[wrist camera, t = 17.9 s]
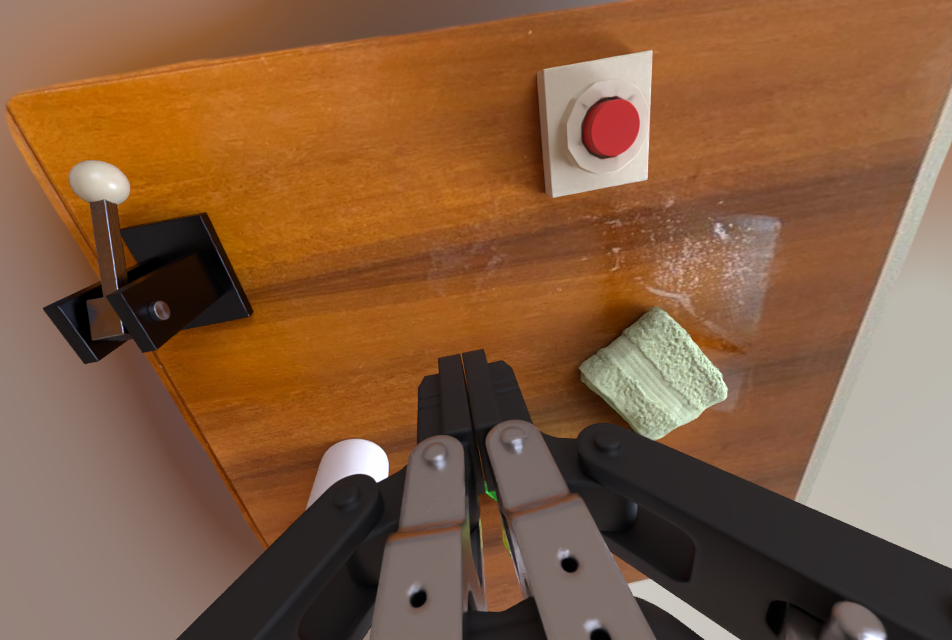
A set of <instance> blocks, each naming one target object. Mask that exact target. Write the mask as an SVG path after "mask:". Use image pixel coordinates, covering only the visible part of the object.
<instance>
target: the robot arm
mask: <svg viewBox="0 0 952 640" xmlns="http://www.w3.org/2000/svg"><path fill="white" fill-rule="evenodd" d="M462 357H463V363H464V369H465V374H464V370H463V365H462V360H461V356H460V354H456V355H451V356H446V357H441V358H438V366H439V374H434V375H429V376H425V377H424V379H423V380H422V382H421V384H420V385H419V387H418V418H417V446H416V447H415V448H414V449H413V450H412V452H411V453H410V455H409V459H408V464H407V465H406V466H405V467H404V468H403V469H401V470H400V471H398V472H397V473H395V474H393V475H391V476H389V477H387V478H385V479H383V480H381V481H379V482H376V480H375V479H374V478H373V477H371V476H369V475H366V474H353V475H349V476H346V477H344V478H342V479H340V480H338V481H337V482H335V483H334V484H332V485H331V486H330V487H329V488H328V489H327V490H326V491H325V492H324V493H323V494H322V495H321V496H320V497H319V498H318V499H317V500H316V501H315V502H314V503H313V504H312V505H311V506H310V507H309V508H308V509H307V510H306V511H305V512H304V513H303V514H302V515H301V516H300V517H299V518H298V519H297V520H296V521H295V522H294V523H293V524H292V525H291V526H290V527H289V528H288V529H287V530H286V531H285V532H284V533H283V534H282V535H281V536H280V537H279V538H278V539H277V540H276V541H275V542H274V543H273V544H272V545H271V546H270V547H269V548H268V549H267V550H266V551H265V552H264V553H263V554H262V555H261V556H260V557H259V558H258V559H257V560H256V561H255V562H254V563H253V564H252V565H251V566H250V567H249V568H248V569H247V570H246V571H245V572H244V573H243V574H242V575H241V576H240V577H239V578H238V579H237V580H236V581H235V582H234V583H233V584H232V585H231V586H230V587H229V588H228V589H227V590H226V591H225V592H224V593H223V594H222V595H221V596H220V597H218V599H216V600H215V602H213V604H211V605H210V606H209V607H208V608H207V609H206V610H205V611H204V613H202V614H201V615H200V616H199V617H198V618H197V619H196V620H195V621H194V622H193V623H192V624H191V625H190V626H189V627H188V628H187V629H186V630H185V631H184V632H183V633H182V634H181V635H180V636H179V637H178V638H177V639H176V640H363V638H364V637H365V635H366V634H367V632H368V630H369V629H370V628H371V633H370V639H369V640H704V639H703V638H702V637H700V636H699V635H698V634H696V633H695V632H694V631H692V630H691V629H690V628H688V627H687V626H686V625H684V624H683V623H682V622H680V621H679V620H678V619H676V618H675V617H674V616H672V615H671V614H669V613H668V612H666V611H664V610H663V609H661V608H659V607H658V606H656V605H654V604H652V603H650V602H647V601H645V600H643V599H641V598H638V597H635V596H633V594H632V592H631V590H630V588H629V586H628V585H627V583H626V581H625V579H624V577H623V575H622V573H621V571H620V569H619V567H618V565H617V564H616V562H615V560H614V558H613V556H612V554H611V552H612V553H613V554H615V555H616V556H618V557H619V558H621V559H622V560H624V561H625V562H626V563H628V564H629V565H631V566H632V567H634V568H635V569H637V570H638V571H640V572H641V573H643V574H644V575H646V576H647V577H649V578H650V579H652V580H653V581H655V582H656V583H658V584H659V585H661V586H662V587H663V588H665V589H666V590H668V591H669V592H671V593H672V594H674V595H675V596H677V597H678V598H680V599H681V600H683V601H684V602H686V603H687V604H689V605H690V606H692V607H693V608H695V609H696V610H698V611H699V612H700V613H702V614H704V615H705V616H706V617H708V618H709V619H711V620H712V621H714V622H715V623H717V624H718V625H720V626H721V627H723V628H724V629H726V630H727V631H729V632H730V633H732V634H733V635H735V636H736V637H737V638H739V639H740V640H952V569H951V568H949V567H946V566H944V565H942V564H939V563H937V562H935V561H932V560H930V559H928V558H926V557H923V556H921V555H919V554H916V553H914V552H912V551H909V550H907V549H904V548H902V547H900V546H898V545H895V544H893V543H891V542H888V541H886V540H884V539H881V538H879V537H877V536H875V535H872V534H870V533H868V532H865V531H863V530H861V529H858V528H856V527H853V526H851V525H849V524H847V523H844V522H842V521H840V520H837V519H835V518H833V517H830V516H828V515H826V514H823V513H821V512H818V511H817V510H814V509H812V508H809V507H807V506H805V505H803V504H800V503H798V502H796V501H793V500H791V499H789V498H786V497H784V496H782V495H779V494H777V493H775V492H772V491H770V490H768V489H765V488H763V487H761V486H759V485H756V484H754V483H752V482H749V481H747V480H745V479H742V478H740V477H738V476H735V475H733V474H731V473H728V472H726V471H724V470H721V469H719V468H717V467H714V466H712V465H710V464H707V463H705V462H703V461H701V460H698V459H696V458H694V457H691V456H689V455H687V454H684V453H682V452H680V451H677V450H675V449H673V448H670V447H668V446H666V445H663V444H661V443H659V442H656V441H654V440H652V439H649V438H647V437H645V436H643V435H640V434H638V433H636V432H633V431H631V430H629V429H626V428H624V427H622V426H619V425H616V424H611V423H597V424H593V425H590V426H588V427H586V428H584V429H583V430H582V431H581V432H580V433H579V435H578V437H577V439H570V438H557V437H552V436H549V435H546V434H544V433H542V432H541V431H539V430H538V428H537V427H536V426H534V424H533V422H532V420H531V418H530V415H529V412H528V410H527V407H526V404H525V402H524V399H523V396H522V393H521V391H520V389H519V385H518V383H517V380H516V377H515V375H514V372H513V369H512V368H511V367H510V366H509V365H508V364H506V363H505V362H504V361H503V360H502V361H497V362H492V363H487V360H486V356H485V353H484V349H480V350H475V351H470V352H465V353H462ZM465 375H466V379H465ZM466 381H467V384H466ZM467 387H468V388H467ZM476 437H477V438H476ZM477 442H478V443H477ZM478 446H479V449H478ZM479 451H480V455H479ZM480 456H481V460H482V465H483V470H484V474H485V479H486V484H487V488H488V492H492V491H495V493H496V498H497V503H498V507H499V512H500V517H501V521H502V525H503V528H504V532H505V535H506V539H507V542H508V546H509V549H510V553H511V556H512V560H513V563H514V567H515V570H516V574H517V577H518V581H519V584H520V588H521V592H522V596H523V601H521V602H520V603H518V604H516V605H514V606H512V607H511V608H509V609H507V610H505V611H502V612H489V611H488V609H487V602H486V592H485V576H484V561H483V545H482V529H481V520H480V503H479V497H478V495H479V494H484V493H486V490H485V484H484V478H483V473H482V467H481V461H480Z"/></svg>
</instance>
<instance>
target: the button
mask: <svg viewBox="0 0 952 640" xmlns="http://www.w3.org/2000/svg"><path fill="white" fill-rule="evenodd" d="M639 128H640V118H639V114H638V111H637V109H636V108H635V107H634V105H633V104H632V103H630V102H629V101H626V100H623V99H616V100H609V101H604V102H602V103H599V104H598V105H596V106H595V107H594V108H593V109H592V110H591V111H590V112H589V114H588V115H587V117H586V120H585V122H584V127H583V137H584V141H585V143H586V145H587V147H588V148H589V149H590V150H591V151H592V152H594V153H596V154H599V155H605V156H616V155H619V154H622V153H624V152H625V151H626V150H628V149H629V148H630V147H631V146H632V144H633V143H634V142H635V140H636V138H637V136H638V133H639Z"/></svg>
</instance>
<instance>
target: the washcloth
mask: <svg viewBox="0 0 952 640" xmlns="http://www.w3.org/2000/svg"><path fill="white" fill-rule="evenodd" d="M686 332H687V331H685V329H683V328H681V326H680V325H679V324H678V323H677V322H676V321H674V320H673V318H672V317H670V316H669V315H668V314H667V313H666V312H665V311H663V310H662V309H661V307H658V306H657V307H652V308H651V309H650V310H649V311H648V312H647V313H645V314H643V316H642V317H640V318H639V319H638V321H636V322H635V323H633V324H632V325H631V326H630V327H628V328H626V329H625V330H623V332H622V335H621V336H620V337H618V338H617V339H616V340H614V341H613V342H612V343H611V344H610V345H609V346H607V347H606V348H601V349H600V350H598V351H597V354H595V355H592V357H590V358H588V359H587V360H586V361H583V363H582V364H581V365H580V366H579V370H580V371H581V377H580V380H581V381H582V382H583V383H585V384H586V385H587V387H589V388H590V389H591V390H593V392H594V393H596V394H598V395H600V396H601V397H602V399H604V400H605V401H606V402H607V403H608V405H611V407H612V408H613V409H615V411H616V412H617V413H618V414H619V415H621V416H622V417H623V419H624V420H625V421H627V422H628V423H629V425H630V427H631V428H633V430H634V431H635V432H636V433H638V434H640V435H643V436H645V437H647V438H649V439H652V440H656V439H659V438H661V437H663V436H665V435H666V434H667V433H669V432H670V431H672V430H673V429H675V428H676V427H678V426H681V425H684V424H686V423H688V422H690V421H692V420H694V419H696V418H697V417H698V416H699V415H700V414H701V413H702V411H704V410H705V409H706V408H707V407H709V406H711V405H713V404H715V403H718V402H721V401H723V400H724V399H725V398H726V397H727V391H728V389H727V387H726V384H725V383H724V381H723V380H722V377H723V375H722V374H721V373H720V372H719V371H718V368H715V367H714V366H713V365H712V362H710V361H709V360H708V359H707V357H706V356H705V355H704V354H703V353H702V351H701V350H700V349H699V348H698V346H697V345H696V344H695V343H694V342H693V341H692V339H691V338H690V335H689V334H687V333H686Z"/></svg>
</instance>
